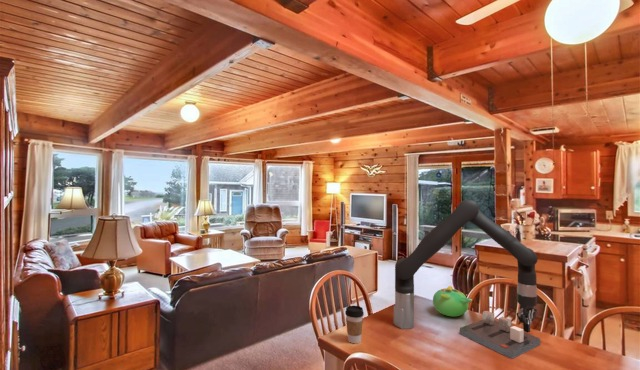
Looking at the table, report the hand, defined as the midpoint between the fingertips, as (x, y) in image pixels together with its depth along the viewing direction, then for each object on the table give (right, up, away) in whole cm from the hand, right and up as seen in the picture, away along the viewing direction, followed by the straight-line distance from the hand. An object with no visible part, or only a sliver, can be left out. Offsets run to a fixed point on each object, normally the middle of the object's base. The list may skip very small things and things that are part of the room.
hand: (526, 331), depth 140 cm
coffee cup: (-77, -5, +2) cm, 77 cm away
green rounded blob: (-22, -5, +29) cm, 37 cm away
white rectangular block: (-7, -2, -4) cm, 8 cm away
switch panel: (-11, -5, +3) cm, 12 cm away
